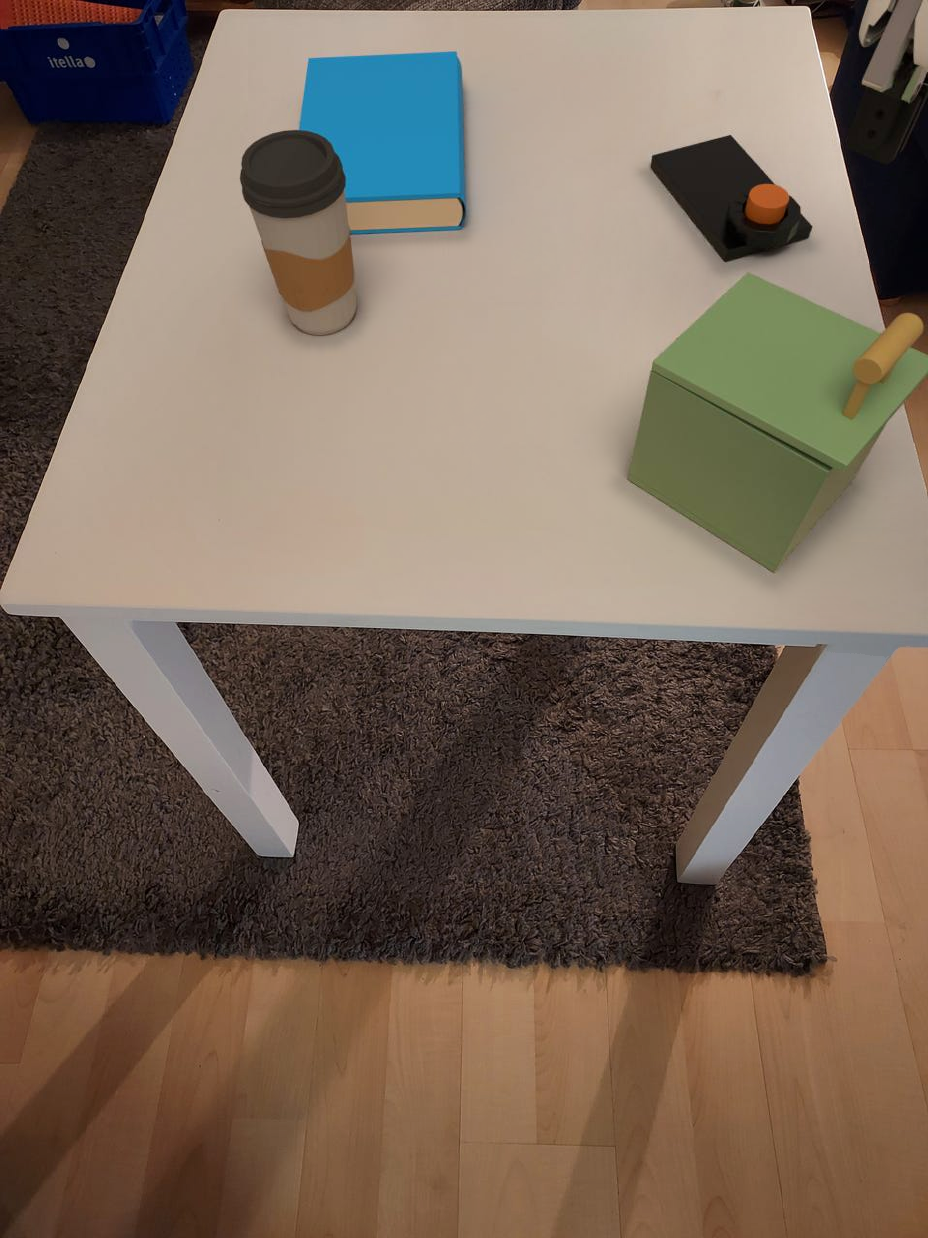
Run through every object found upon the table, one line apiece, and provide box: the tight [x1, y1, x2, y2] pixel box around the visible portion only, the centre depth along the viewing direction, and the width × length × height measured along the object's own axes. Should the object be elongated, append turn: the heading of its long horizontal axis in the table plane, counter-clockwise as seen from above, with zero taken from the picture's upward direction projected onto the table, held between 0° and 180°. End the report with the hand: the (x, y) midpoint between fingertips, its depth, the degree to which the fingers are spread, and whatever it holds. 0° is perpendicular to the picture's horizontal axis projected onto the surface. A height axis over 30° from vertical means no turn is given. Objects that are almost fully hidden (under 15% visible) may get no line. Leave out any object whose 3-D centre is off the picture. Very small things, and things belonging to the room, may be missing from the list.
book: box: [298, 50, 467, 235], centre depth 88 cm, size 17×4×25 cm
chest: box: [627, 369, 888, 573], centre depth 62 cm, size 14×12×12 cm
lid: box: [651, 272, 928, 473], centre depth 54 cm, size 14×12×6 cm
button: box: [745, 184, 790, 224], centre depth 78 cm, size 4×4×2 cm
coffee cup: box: [239, 129, 357, 336], centre depth 72 cm, size 8×8×15 cm
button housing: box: [649, 134, 814, 263], centre depth 82 cm, size 17×9×3 cm, turn 20°
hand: (872, 149), depth 53 cm, fingers closed
